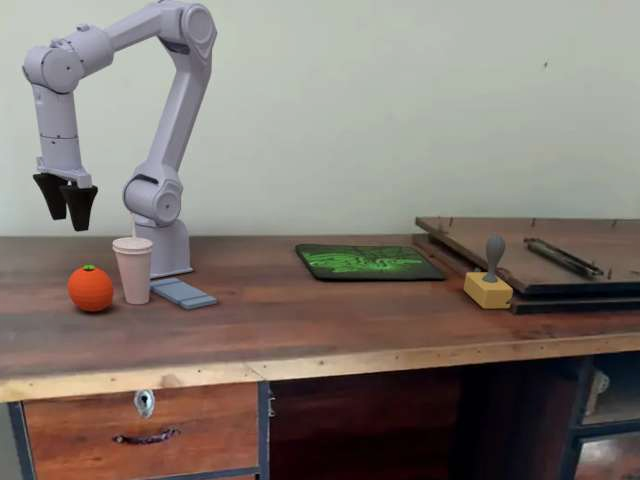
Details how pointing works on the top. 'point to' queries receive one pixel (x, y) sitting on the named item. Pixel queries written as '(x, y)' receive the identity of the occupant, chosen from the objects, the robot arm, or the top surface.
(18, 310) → the top surface
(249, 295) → the top surface
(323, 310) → the top surface
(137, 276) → the smoothie
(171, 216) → the robot arm
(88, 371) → the top surface
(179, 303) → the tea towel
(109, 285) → the clementine
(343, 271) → the mouse mat
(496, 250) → the rubber stamp
